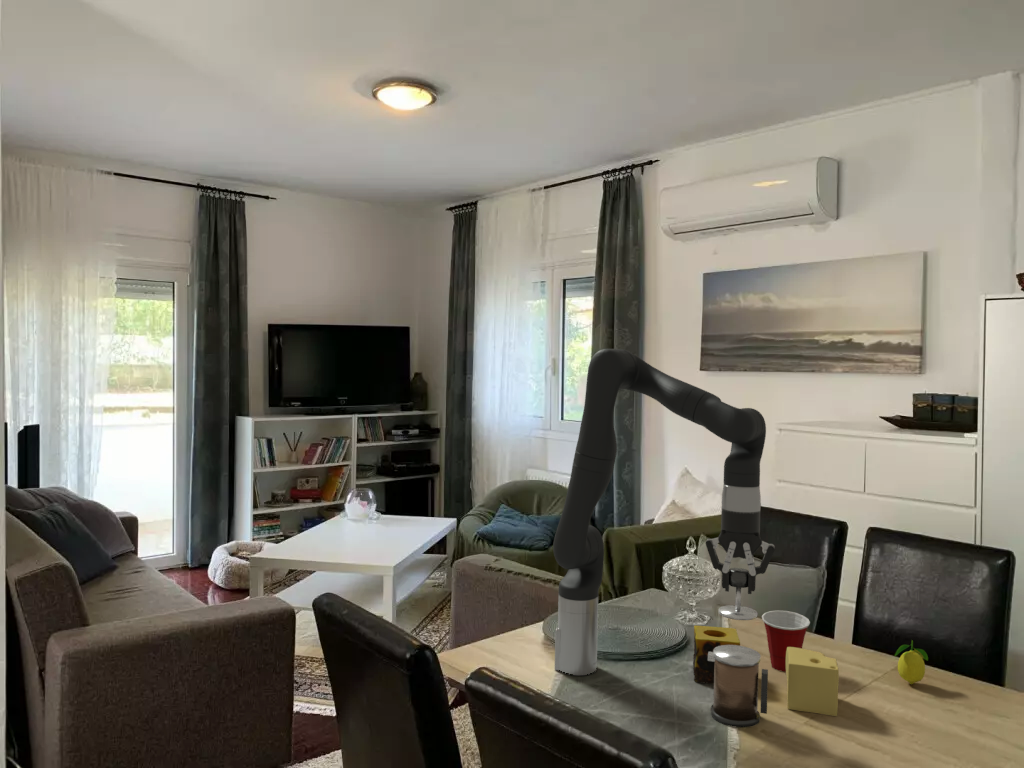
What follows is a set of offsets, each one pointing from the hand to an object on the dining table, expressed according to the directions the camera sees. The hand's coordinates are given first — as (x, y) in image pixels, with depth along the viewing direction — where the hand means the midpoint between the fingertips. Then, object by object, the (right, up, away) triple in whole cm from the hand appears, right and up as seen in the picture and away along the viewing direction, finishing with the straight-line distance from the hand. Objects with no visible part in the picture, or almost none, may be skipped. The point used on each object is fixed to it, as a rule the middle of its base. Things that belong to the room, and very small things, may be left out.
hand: (738, 591), depth 159 cm
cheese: (+17, -26, +8) cm, 32 cm away
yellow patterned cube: (+1, -25, +21) cm, 33 cm away
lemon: (+44, -26, +19) cm, 55 cm away
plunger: (0, -5, 0) cm, 5 cm away
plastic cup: (+19, -25, +27) cm, 42 cm away
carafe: (-1, -26, +1) cm, 26 cm away
